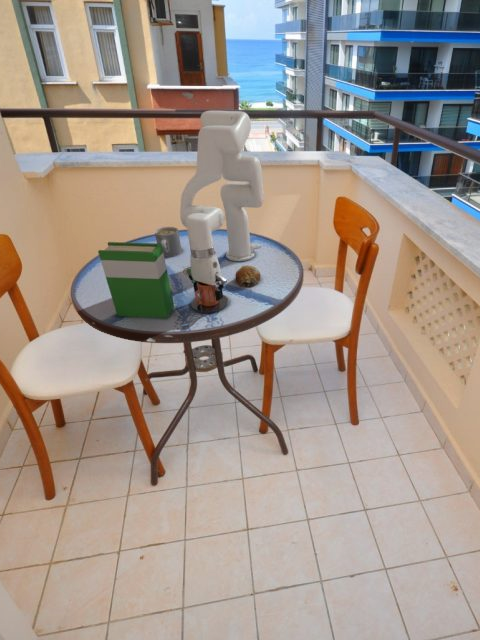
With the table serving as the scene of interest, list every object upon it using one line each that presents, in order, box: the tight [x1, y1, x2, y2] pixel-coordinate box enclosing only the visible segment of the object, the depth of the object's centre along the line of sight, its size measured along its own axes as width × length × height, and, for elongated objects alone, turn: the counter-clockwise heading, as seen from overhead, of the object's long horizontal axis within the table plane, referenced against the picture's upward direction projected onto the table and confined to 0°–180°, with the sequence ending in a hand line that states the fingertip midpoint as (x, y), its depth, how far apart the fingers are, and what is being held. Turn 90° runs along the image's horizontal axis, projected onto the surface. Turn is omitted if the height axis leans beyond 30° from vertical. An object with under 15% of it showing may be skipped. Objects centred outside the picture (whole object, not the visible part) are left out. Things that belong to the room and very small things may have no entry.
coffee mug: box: [154, 226, 183, 258], centre depth 182 cm, size 13×10×10 cm
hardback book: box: [97, 241, 175, 319], centre depth 138 cm, size 18×7×24 cm, turn 86°
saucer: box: [190, 294, 229, 314], centre depth 149 cm, size 13×13×1 cm
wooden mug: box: [194, 281, 219, 306], centre depth 146 cm, size 10×7×8 cm
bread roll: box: [235, 265, 261, 287], centre depth 163 cm, size 10×10×8 cm
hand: (208, 295), depth 148 cm, fingers open, 9 cm apart
